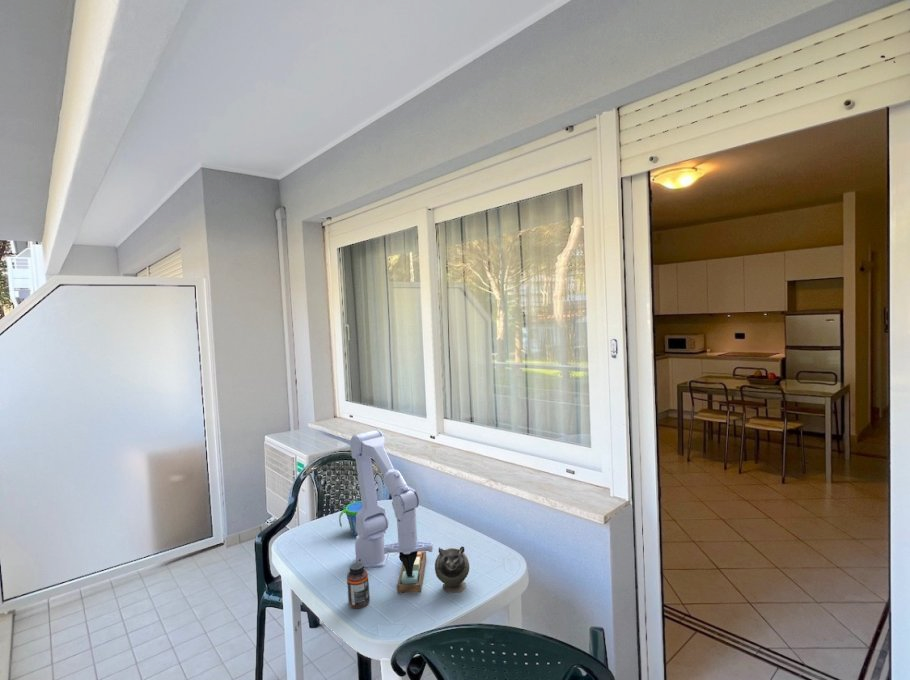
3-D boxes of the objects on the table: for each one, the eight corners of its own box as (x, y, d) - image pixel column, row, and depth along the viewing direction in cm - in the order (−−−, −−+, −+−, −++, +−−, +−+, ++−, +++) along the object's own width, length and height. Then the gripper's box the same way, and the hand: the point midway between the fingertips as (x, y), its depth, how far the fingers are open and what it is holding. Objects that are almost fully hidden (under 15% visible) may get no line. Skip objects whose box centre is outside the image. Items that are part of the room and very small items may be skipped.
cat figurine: (443, 601, 135) (476, 591, 139) (439, 561, 134) (473, 552, 138) (432, 583, 145) (463, 574, 148) (429, 545, 144) (460, 537, 147)
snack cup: (339, 540, 175) (337, 514, 174) (341, 528, 185) (339, 502, 185) (381, 535, 177) (380, 509, 177) (381, 523, 188) (379, 498, 187)
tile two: (402, 589, 141) (401, 579, 141) (404, 581, 146) (403, 570, 145) (417, 589, 141) (416, 578, 141) (418, 580, 146) (418, 570, 145)
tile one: (404, 574, 147) (403, 564, 147) (406, 566, 152) (405, 556, 152) (419, 574, 147) (418, 563, 147) (420, 566, 152) (419, 556, 151)
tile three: (406, 564, 153) (406, 554, 153) (408, 556, 158) (408, 547, 158) (421, 563, 153) (420, 553, 153) (422, 556, 158) (421, 546, 158)
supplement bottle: (350, 597, 139) (347, 560, 138) (370, 595, 140) (368, 558, 139) (347, 610, 133) (344, 571, 132) (368, 608, 134) (366, 569, 133)
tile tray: (397, 593, 140) (397, 585, 140) (405, 559, 159) (405, 552, 159) (421, 592, 140) (420, 584, 140) (426, 558, 159) (426, 551, 159)
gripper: (380, 538, 138) (383, 583, 139) (430, 536, 138) (433, 581, 139) (385, 527, 145) (387, 570, 146) (432, 525, 145) (434, 568, 146)
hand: (410, 574), depth 143 cm, fingers closed, pressing on tile two
